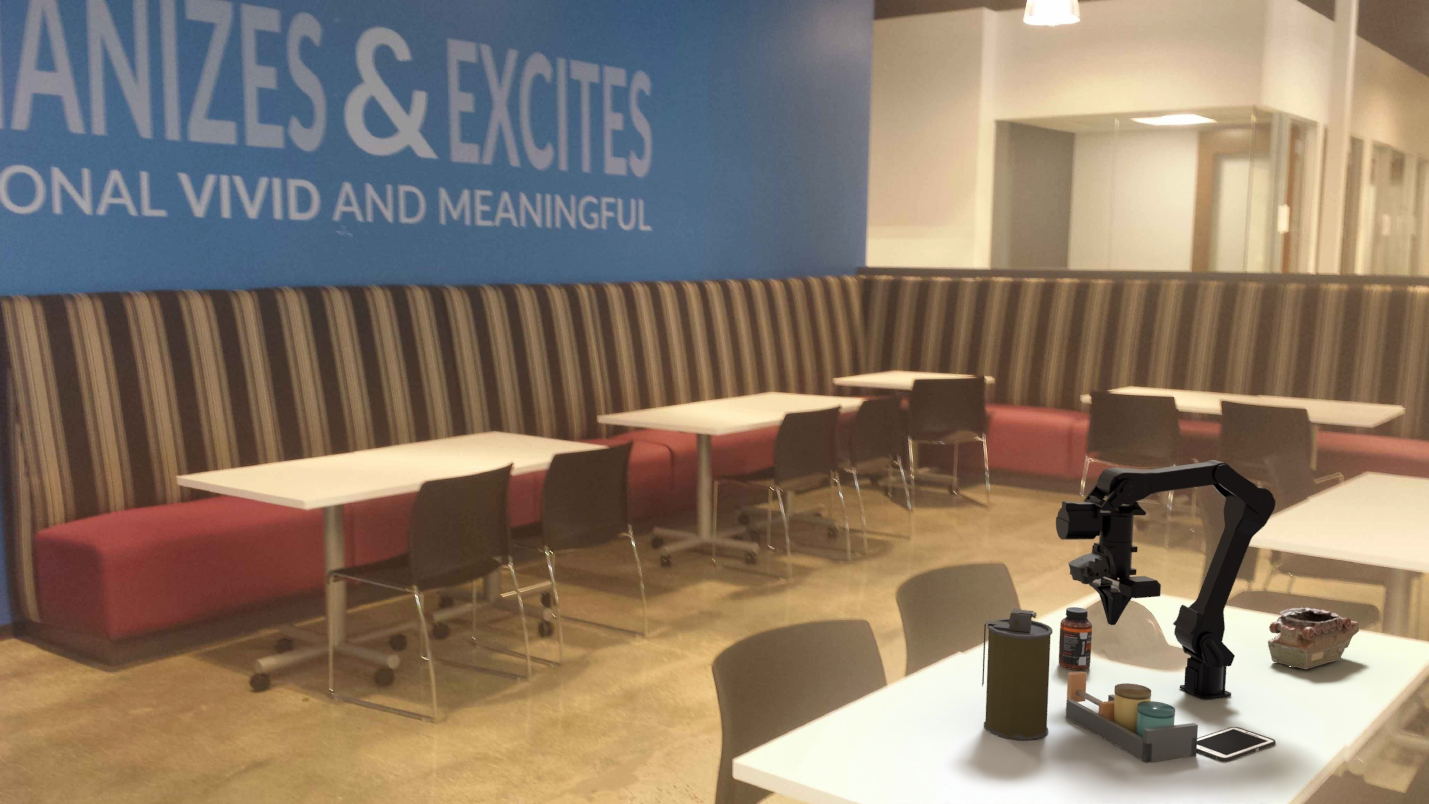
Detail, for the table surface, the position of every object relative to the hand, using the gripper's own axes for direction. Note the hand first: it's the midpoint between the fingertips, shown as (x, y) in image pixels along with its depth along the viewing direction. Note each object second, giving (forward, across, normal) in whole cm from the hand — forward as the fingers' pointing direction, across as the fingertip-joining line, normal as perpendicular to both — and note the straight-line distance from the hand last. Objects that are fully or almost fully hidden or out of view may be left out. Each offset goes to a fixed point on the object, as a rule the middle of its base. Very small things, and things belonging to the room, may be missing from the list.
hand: (1111, 624), depth 219 cm
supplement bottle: (+13, -16, +4) cm, 21 cm away
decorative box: (+13, -7, +53) cm, 55 cm away
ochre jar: (+13, +18, -9) cm, 24 cm away
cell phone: (+14, +26, +4) cm, 30 cm away
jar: (+13, +24, -10) cm, 29 cm away
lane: (+13, +18, -10) cm, 24 cm away
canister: (+13, +10, -26) cm, 31 cm away
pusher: (+13, +9, -10) cm, 18 cm away
